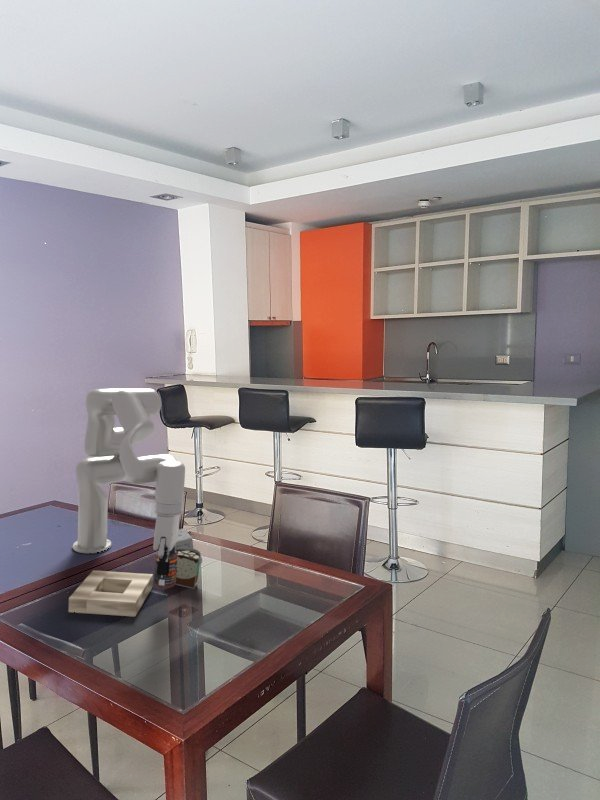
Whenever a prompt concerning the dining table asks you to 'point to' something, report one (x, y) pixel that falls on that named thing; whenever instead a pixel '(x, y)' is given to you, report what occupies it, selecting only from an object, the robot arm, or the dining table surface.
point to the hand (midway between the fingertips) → (165, 568)
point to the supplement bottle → (170, 579)
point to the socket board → (108, 603)
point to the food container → (187, 566)
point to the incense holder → (184, 539)
